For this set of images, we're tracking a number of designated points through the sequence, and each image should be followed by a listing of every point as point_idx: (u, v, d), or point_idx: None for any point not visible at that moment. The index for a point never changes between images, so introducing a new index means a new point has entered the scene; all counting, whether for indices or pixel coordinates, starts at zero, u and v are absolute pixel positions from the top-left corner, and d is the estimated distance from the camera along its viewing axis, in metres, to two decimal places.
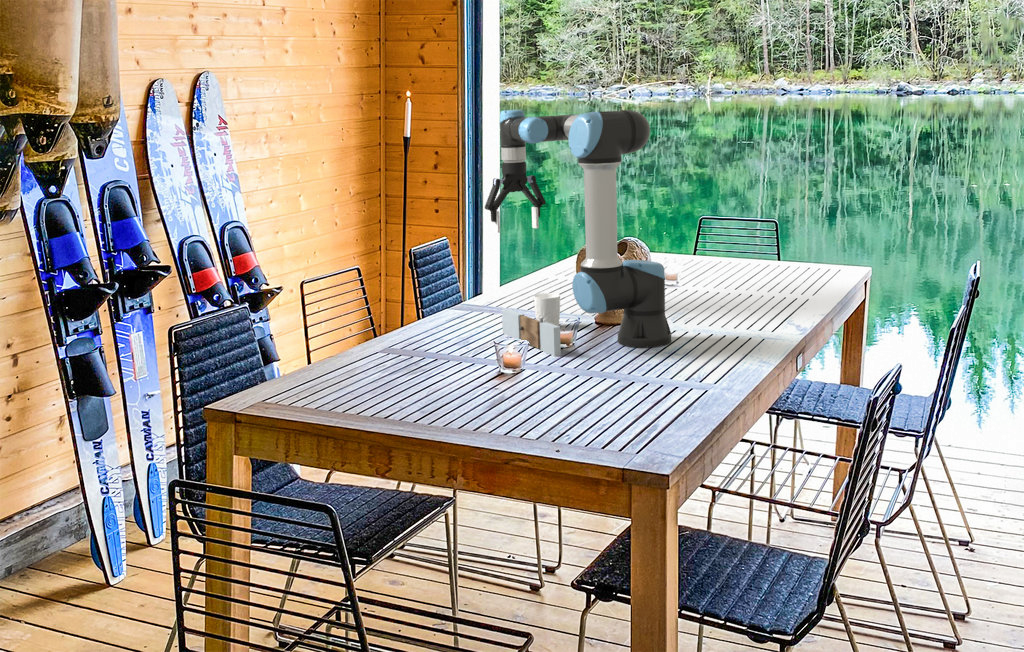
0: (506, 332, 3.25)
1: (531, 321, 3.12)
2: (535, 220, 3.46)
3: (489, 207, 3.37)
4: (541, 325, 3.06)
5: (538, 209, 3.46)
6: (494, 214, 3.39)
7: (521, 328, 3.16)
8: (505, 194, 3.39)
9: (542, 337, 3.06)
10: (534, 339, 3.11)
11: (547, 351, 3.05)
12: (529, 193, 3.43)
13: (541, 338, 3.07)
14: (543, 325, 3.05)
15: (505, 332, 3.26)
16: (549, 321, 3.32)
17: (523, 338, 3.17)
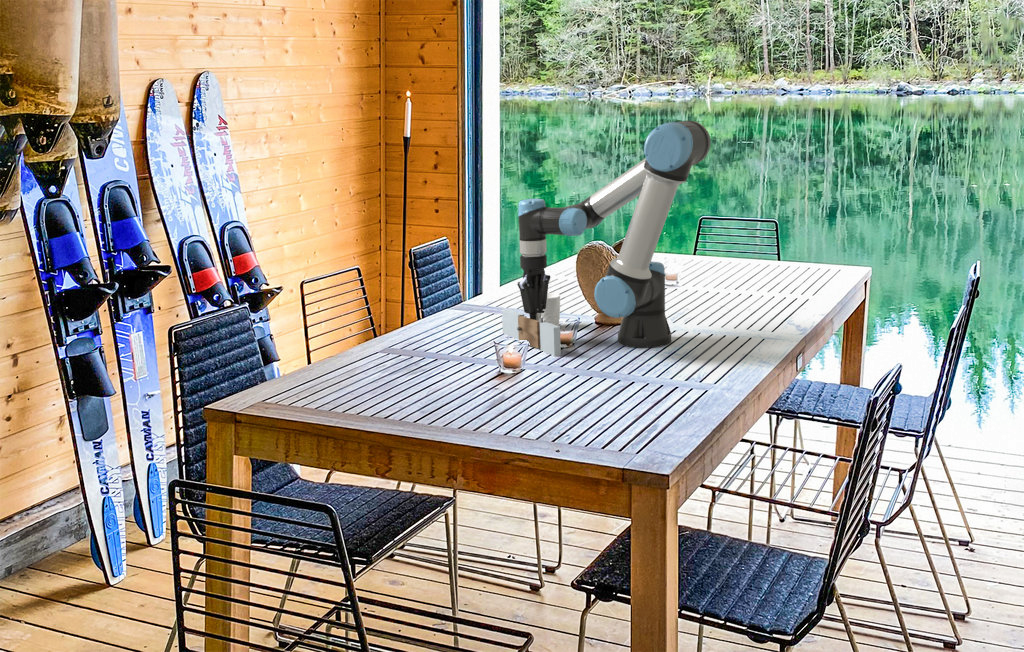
0: (506, 332, 3.25)
1: (530, 321, 3.11)
2: None
3: (531, 311, 3.12)
4: (541, 325, 3.06)
5: None
6: (534, 317, 3.15)
7: (519, 328, 3.16)
8: (535, 292, 3.13)
9: (542, 337, 3.06)
10: (534, 339, 3.11)
11: (547, 351, 3.05)
12: (540, 293, 3.15)
13: (541, 338, 3.07)
14: (543, 325, 3.05)
15: (505, 332, 3.26)
16: (549, 321, 3.32)
17: (521, 338, 3.17)
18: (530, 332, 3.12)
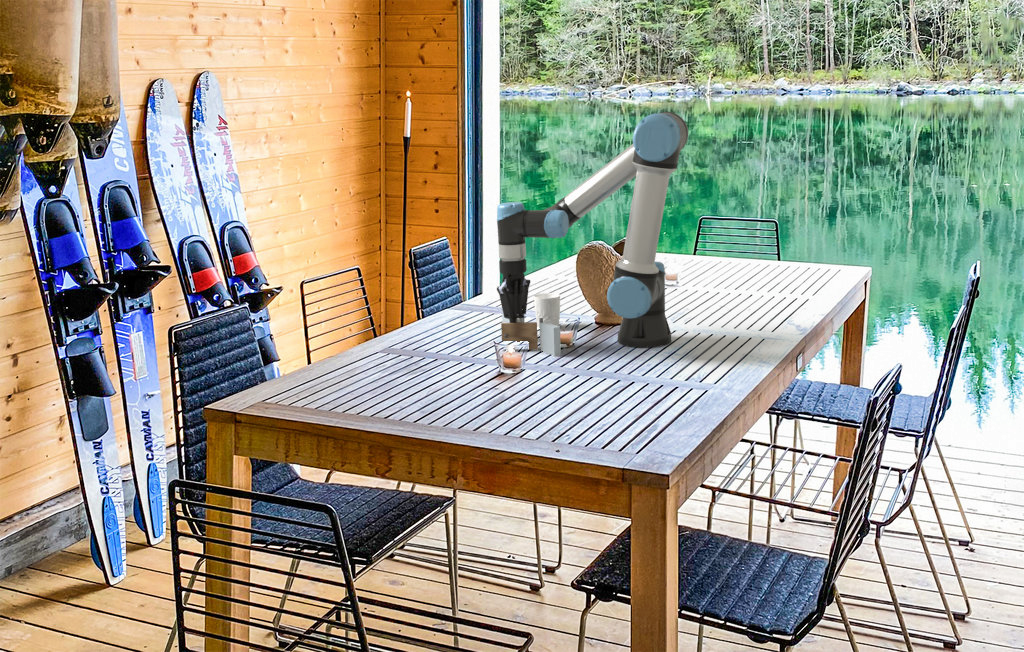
0: None
1: (525, 324, 3.08)
2: None
3: (511, 316, 3.08)
4: (541, 325, 3.06)
5: None
6: (514, 322, 3.10)
7: (507, 335, 3.08)
8: (515, 297, 3.08)
9: (542, 337, 3.06)
10: (531, 341, 3.09)
11: (547, 351, 3.05)
12: (520, 297, 3.10)
13: (541, 338, 3.07)
14: (543, 325, 3.05)
15: None
16: (549, 321, 3.32)
17: None
18: (524, 336, 3.08)
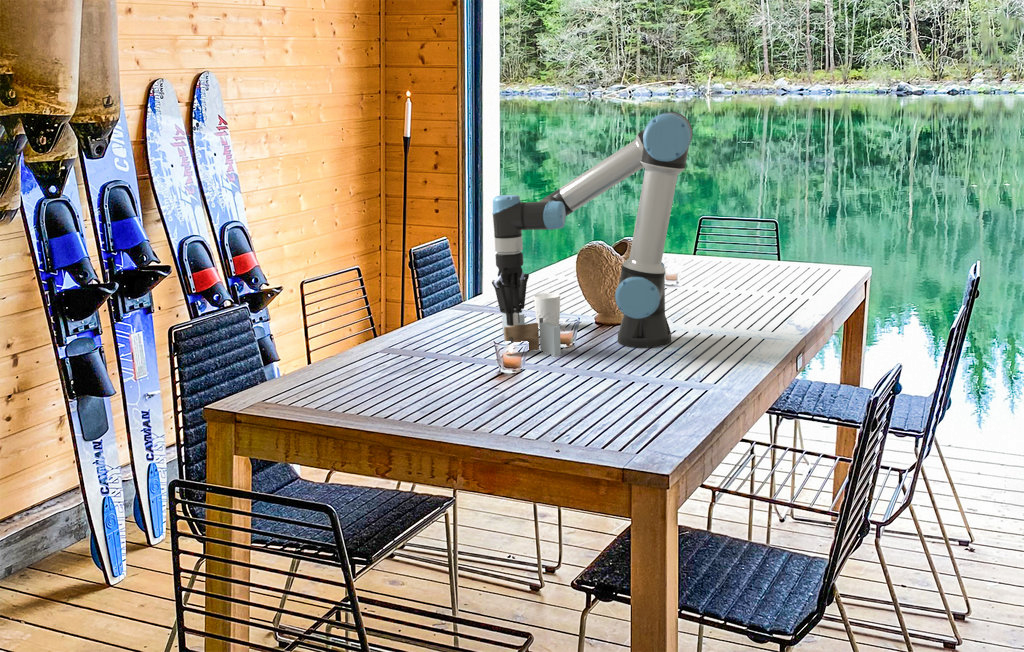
0: None
1: (527, 326, 3.06)
2: None
3: (507, 311, 3.03)
4: (541, 325, 3.06)
5: (517, 315, 3.07)
6: (511, 317, 3.05)
7: (513, 339, 3.04)
8: (511, 291, 3.03)
9: (542, 337, 3.06)
10: (533, 342, 3.07)
11: (547, 351, 3.05)
12: (517, 292, 3.05)
13: (541, 338, 3.07)
14: (543, 325, 3.05)
15: None
16: (549, 321, 3.32)
17: None
18: (527, 337, 3.06)
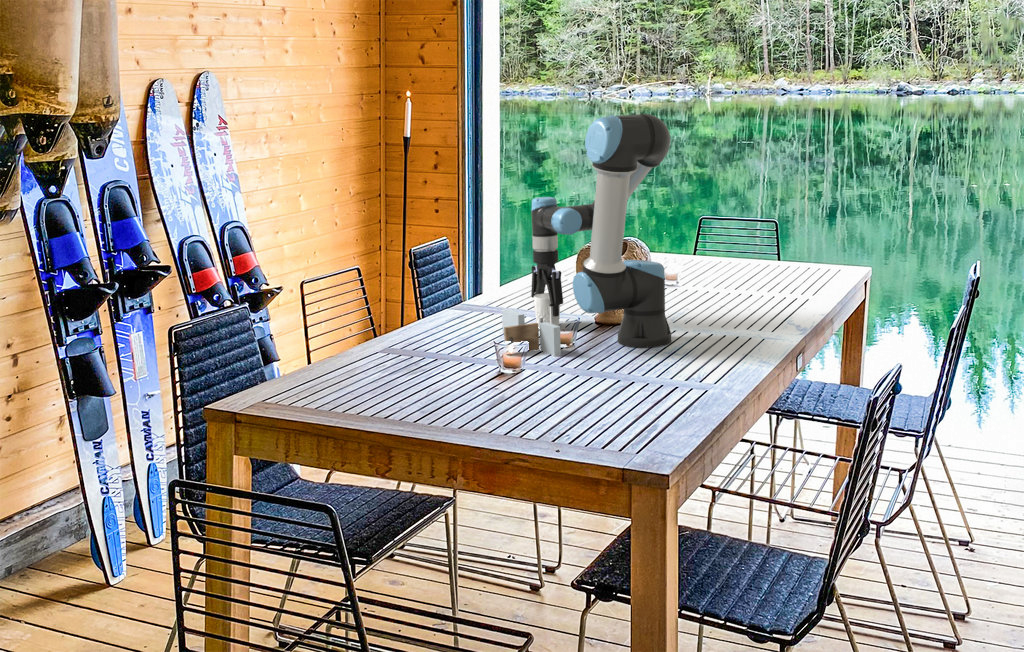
0: None
1: (527, 326, 3.06)
2: None
3: (531, 295, 3.39)
4: (541, 325, 3.06)
5: (553, 308, 3.30)
6: None
7: (513, 339, 3.04)
8: (538, 282, 3.35)
9: (542, 337, 3.06)
10: (533, 342, 3.07)
11: (547, 351, 3.05)
12: (548, 287, 3.30)
13: (541, 338, 3.07)
14: (543, 325, 3.05)
15: None
16: (549, 321, 3.32)
17: None
18: (527, 337, 3.06)
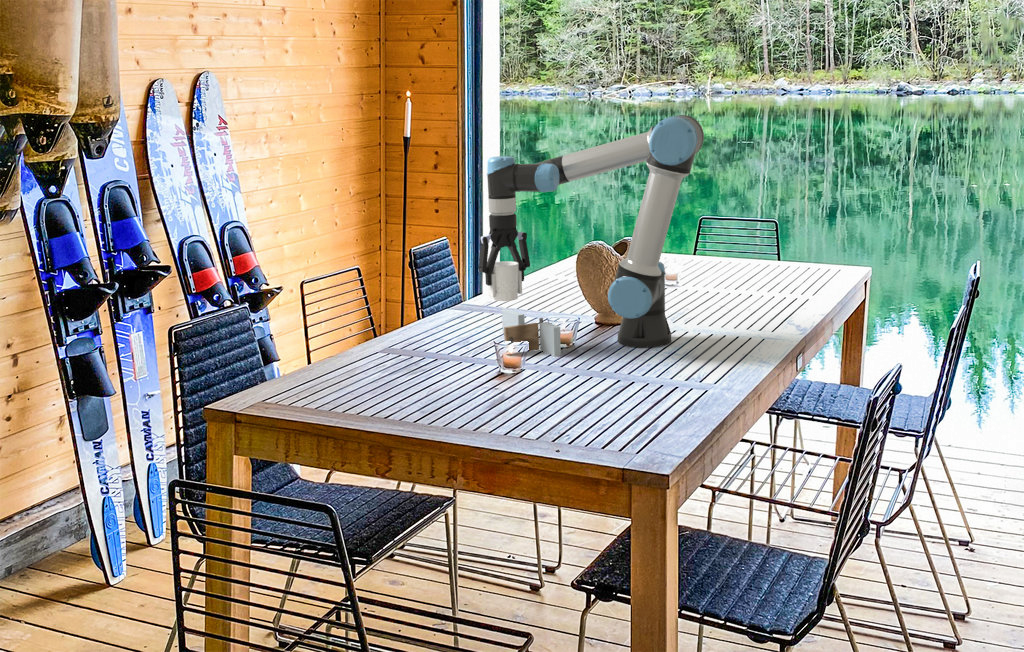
0: None
1: (527, 326, 3.06)
2: (518, 284, 3.10)
3: (483, 270, 3.04)
4: (541, 325, 3.06)
5: (522, 272, 3.10)
6: (489, 277, 3.06)
7: (513, 339, 3.04)
8: (496, 252, 3.05)
9: (542, 337, 3.06)
10: (533, 342, 3.07)
11: (547, 351, 3.05)
12: (516, 252, 3.08)
13: (541, 338, 3.07)
14: (543, 325, 3.05)
15: None
16: None
17: None
18: (527, 337, 3.06)
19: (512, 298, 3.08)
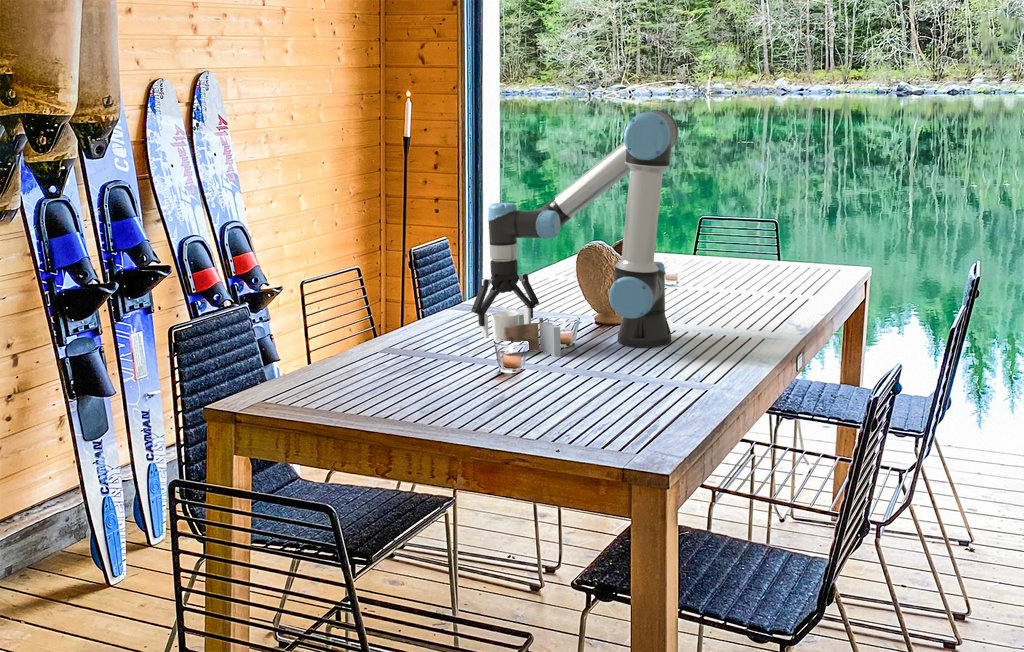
0: None
1: (527, 326, 3.06)
2: (527, 322, 3.14)
3: (476, 311, 3.05)
4: (541, 325, 3.06)
5: (531, 310, 3.14)
6: (482, 318, 3.06)
7: (513, 339, 3.04)
8: (494, 296, 3.07)
9: (542, 337, 3.06)
10: (533, 342, 3.07)
11: (547, 351, 3.05)
12: (521, 293, 3.10)
13: (541, 338, 3.07)
14: (543, 325, 3.05)
15: None
16: None
17: None
18: (527, 337, 3.06)
19: None
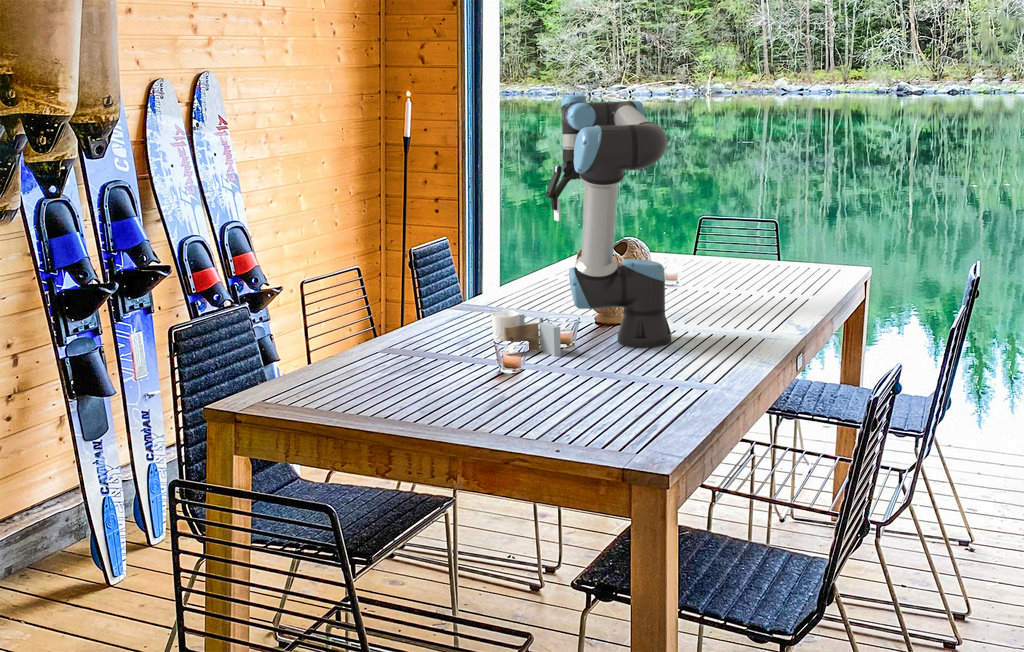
0: None
1: (527, 326, 3.06)
2: None
3: (550, 195, 3.30)
4: (541, 325, 3.06)
5: None
6: (555, 202, 3.32)
7: (513, 339, 3.04)
8: (566, 181, 3.32)
9: (542, 337, 3.06)
10: (533, 342, 3.07)
11: (547, 351, 3.05)
12: None
13: (541, 338, 3.07)
14: (543, 325, 3.05)
15: None
16: None
17: None
18: (527, 337, 3.06)
19: None
